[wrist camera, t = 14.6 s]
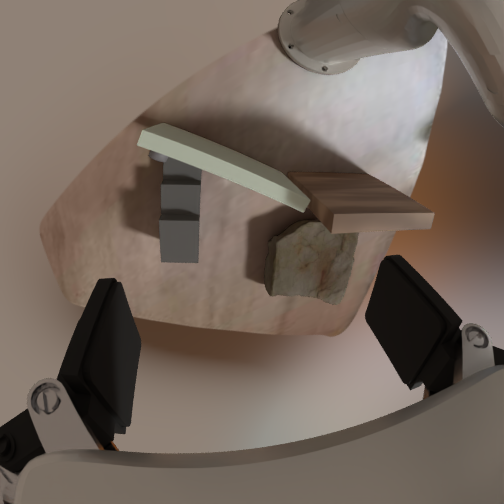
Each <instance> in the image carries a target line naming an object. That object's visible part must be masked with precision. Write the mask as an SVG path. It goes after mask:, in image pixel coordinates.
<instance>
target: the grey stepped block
mask: <svg viewBox="0 0 504 504" xmlns="http://www.w3.org/2000/svg"><path fill="white" fill-rule="evenodd" d="M201 172H202V169H200V168H197V167H195V166H192V165H190V164H187V163H184V162H182V161H179V160H176V159H174V158H171V157H168V159H167V161H166V162H163V182H162V183H161V216H160V219H159V234H160V252H161V262H175V263H198V254H199V218H200V192H201Z"/></svg>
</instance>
